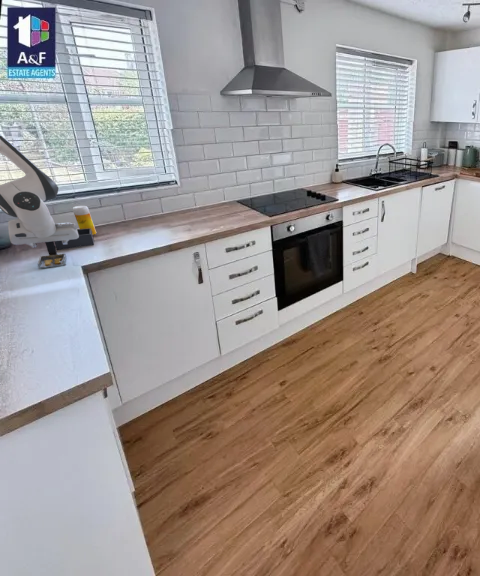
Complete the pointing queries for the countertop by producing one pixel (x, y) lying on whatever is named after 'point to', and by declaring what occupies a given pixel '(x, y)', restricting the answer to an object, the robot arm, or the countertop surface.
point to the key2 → (57, 260)
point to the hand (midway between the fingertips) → (50, 244)
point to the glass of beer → (84, 218)
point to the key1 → (48, 262)
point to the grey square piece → (51, 256)
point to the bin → (77, 240)
